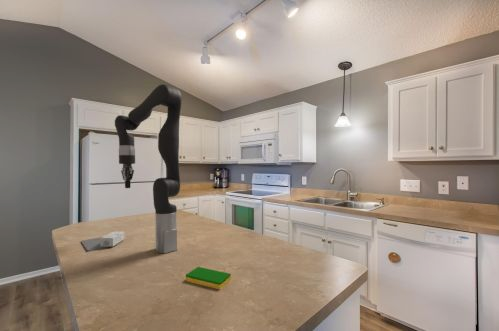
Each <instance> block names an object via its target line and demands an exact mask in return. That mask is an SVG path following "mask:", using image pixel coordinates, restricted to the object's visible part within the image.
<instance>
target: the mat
mask: <svg viewBox="0 0 499 331" xmlns="http://www.w3.org/2000/svg"><path fill="white" fill-rule="evenodd" d="M102 237H103V236H99V237H95V238H94V237H93V238H90V239H84V240H81V241H80V242H81V244H82V245H83V247H84V248H85V250H86V251H87V252H92V251H97V250H101V249H107V248H108V247H100V238H102ZM115 246H118V243H117V244H116V245H114V246H110V247H109V248H111V247H115Z"/></svg>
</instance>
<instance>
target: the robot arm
mask: <svg viewBox="0 0 499 331" xmlns="http://www.w3.org/2000/svg"><path fill="white" fill-rule="evenodd" d="M182 97H183V96H182V92H181V91H180V90H179V89H178V88H175V87H174V86H170V85H168V84H163V83H162V84H159V85H158V86H157V87H155V88H154V89H153V90H152V91H151V92H150V94H149V95H148V96H147V97H146V98H145V99H144V100H143V101H142V102H141V103H140V104H139V105H137V106H136V107H134V108H133V109H132V110H130V111H129V113H128V115H119V114H118V116H116V117H115V120H114V126H115V130H116V134H117V136H118V143H119V144H118V164H119V165H122V169H121V171H120V173H121V176H122V179H123V180H124V188H125V189H130V188H131V181H132V180H133V176H134V172H135V169H134V168H133V165H134V164H136V148H135V137H134V135H133V134H129V133H128V131H135V130H137V129H138V127H139V126H140V125H141V123H143V122H145V121H147V119H149V118H150V116H151V115H152V112H153V109H154V108H155V107H158V106H164V107H167V116H166V119H165V121H164V123H163V125H162V127H161V128H160V130H159V133H158V136H157V149H158V153H159V154H160V157H161V160H162V161H163V162H164V164H165V168H166V177H159V178H156V179H155V180H154V182H153V185H152V195H153V207H154V211H155V215H154V216H155V252H157V253H159V254H167V253H171V252H174V251H177V250H178V226H177V224H178V223H177V222H178V221H177V216H178V215H177V213H178V212H177V207H178V206H177V205H176V204H172V203H170V202H169V198H171V197H175V196H177V195H179V194H180V191H181V178H180V177H181V176H180V167H179V165H180V162H179V158H180V157H179V156H180V154H179V150H180V118H181V110H182V100H183V98H182Z"/></svg>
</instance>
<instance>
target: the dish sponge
mask: <svg viewBox="0 0 499 331" xmlns="http://www.w3.org/2000/svg"><path fill="white" fill-rule="evenodd" d="M231 280H232V274H231V273H229V272H224V271H221V270H220V271H219V270H215V269H210V268H205V267H200V266H197V267H196V268H194V269H192V270H190V271H189V272H188V273H186V274H185V282H188V283H192V284H197V285H200V286H205V287H208V288H213V289H217V290H222V288H224V287H225V286H226V285H227V284H228V283H229V282H230V281H231Z"/></svg>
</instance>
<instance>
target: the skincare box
mask: <svg viewBox="0 0 499 331" xmlns="http://www.w3.org/2000/svg"><path fill="white" fill-rule="evenodd" d="M101 237H102V238H100V247H107V248H111V247H110V246H112V247H115V246H114V245H116V244H117V245H118V244H119V243H121V242H122V241H124V240H125V231H117V230H115V231H113V230H112V232H109V233H108V234H105V235H104V236H101Z"/></svg>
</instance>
